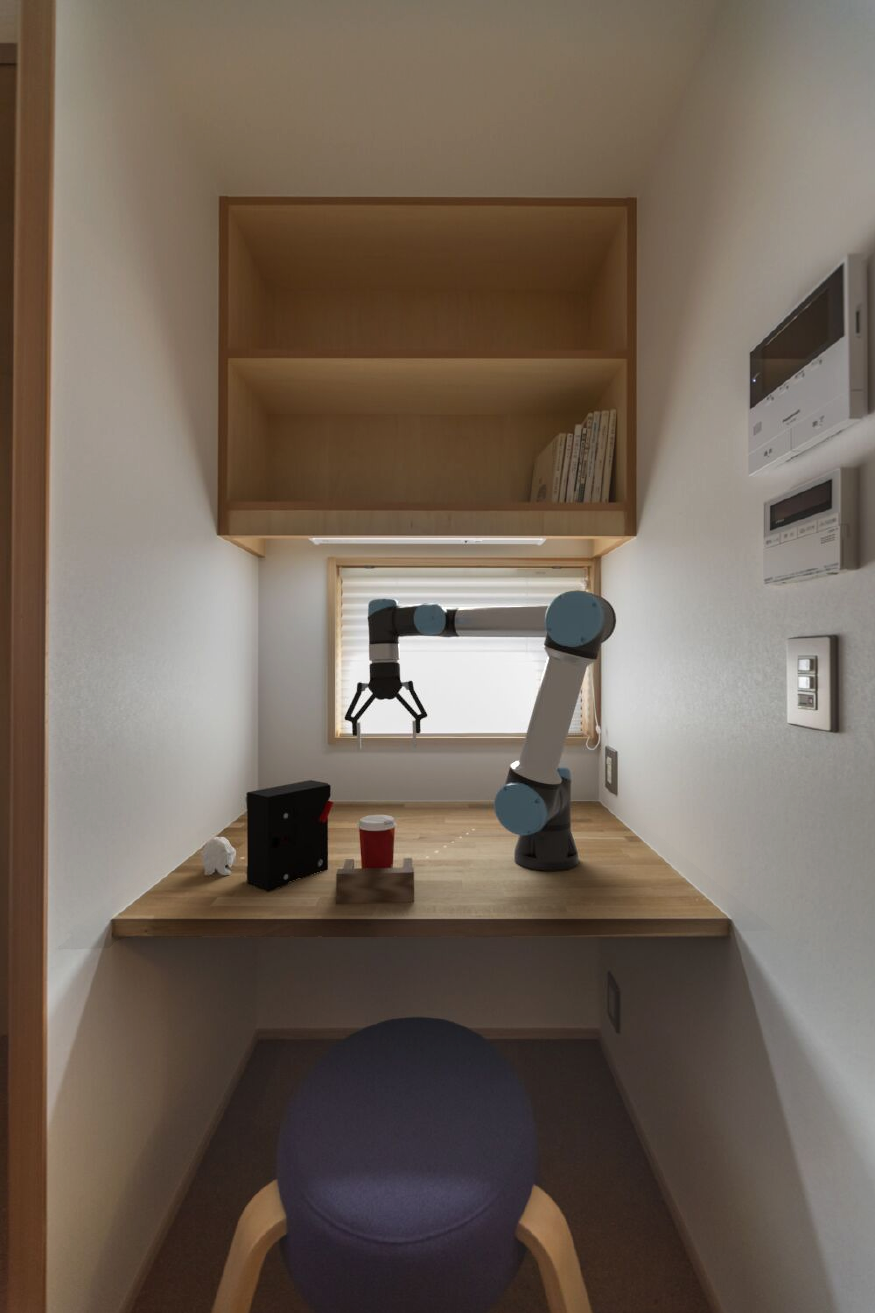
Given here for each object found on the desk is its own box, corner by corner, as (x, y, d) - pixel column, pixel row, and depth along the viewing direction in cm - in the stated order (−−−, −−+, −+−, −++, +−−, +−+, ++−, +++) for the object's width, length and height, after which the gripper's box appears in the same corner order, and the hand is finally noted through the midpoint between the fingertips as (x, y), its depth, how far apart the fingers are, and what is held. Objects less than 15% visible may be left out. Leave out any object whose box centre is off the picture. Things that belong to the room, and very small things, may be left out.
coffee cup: (404, 889, 139) (404, 818, 139) (375, 899, 133) (375, 826, 133) (378, 879, 145) (378, 812, 145) (349, 889, 139) (348, 819, 139)
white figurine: (199, 839, 146) (218, 830, 158) (198, 879, 145) (216, 866, 157) (227, 839, 146) (244, 830, 158) (226, 879, 145) (243, 866, 157)
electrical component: (305, 862, 157) (304, 778, 157) (333, 871, 151) (333, 784, 151) (241, 882, 144) (241, 790, 144) (270, 892, 137) (269, 797, 137)
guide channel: (412, 866, 154) (412, 841, 154) (414, 902, 132) (414, 872, 132) (345, 867, 153) (345, 842, 153) (336, 903, 131) (336, 873, 131)
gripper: (434, 660, 167) (436, 744, 166) (335, 663, 165) (337, 748, 165) (435, 659, 159) (438, 747, 158) (332, 663, 158) (334, 751, 157)
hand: (387, 748), depth 161 cm, fingers open, 13 cm apart
